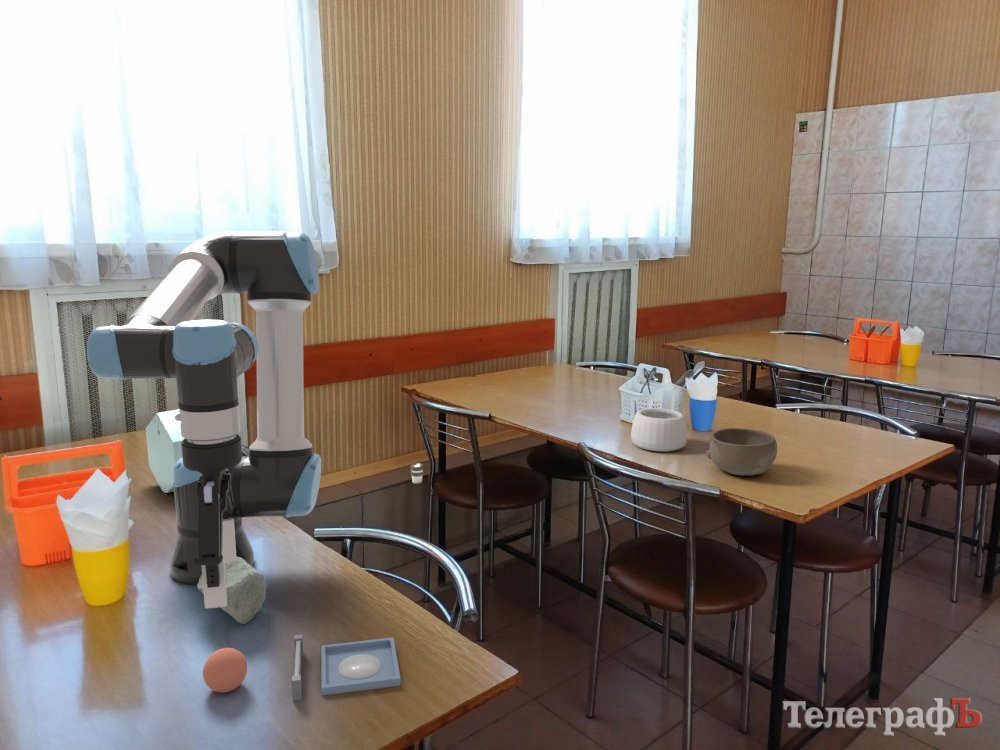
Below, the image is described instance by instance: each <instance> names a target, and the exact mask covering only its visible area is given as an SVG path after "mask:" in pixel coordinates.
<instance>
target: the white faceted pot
mask: <svg viewBox="0 0 1000 750" xmlns="http://www.w3.org/2000/svg"><path fill="white" fill-rule="evenodd" d="M685 418H686V417H685V416H684V414H683V413H682V412H680V411H677V410H673V409H669V408H659V407H655V408H654V407H650V408H649V407H648V408H644V409H641V410H638V411H637V412H635V415H634V417H633V419H632V420H633V421H632V426H631V432H630V438H631V442H633V444H634V445H635V446H636V447H638V448H640V449H644V450H648V451H653V452H675V451H679V450H681V449H683V447H685V446H686V444H687V441H688V427H687V423H686V422H687V421H686V419H685Z"/></svg>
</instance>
